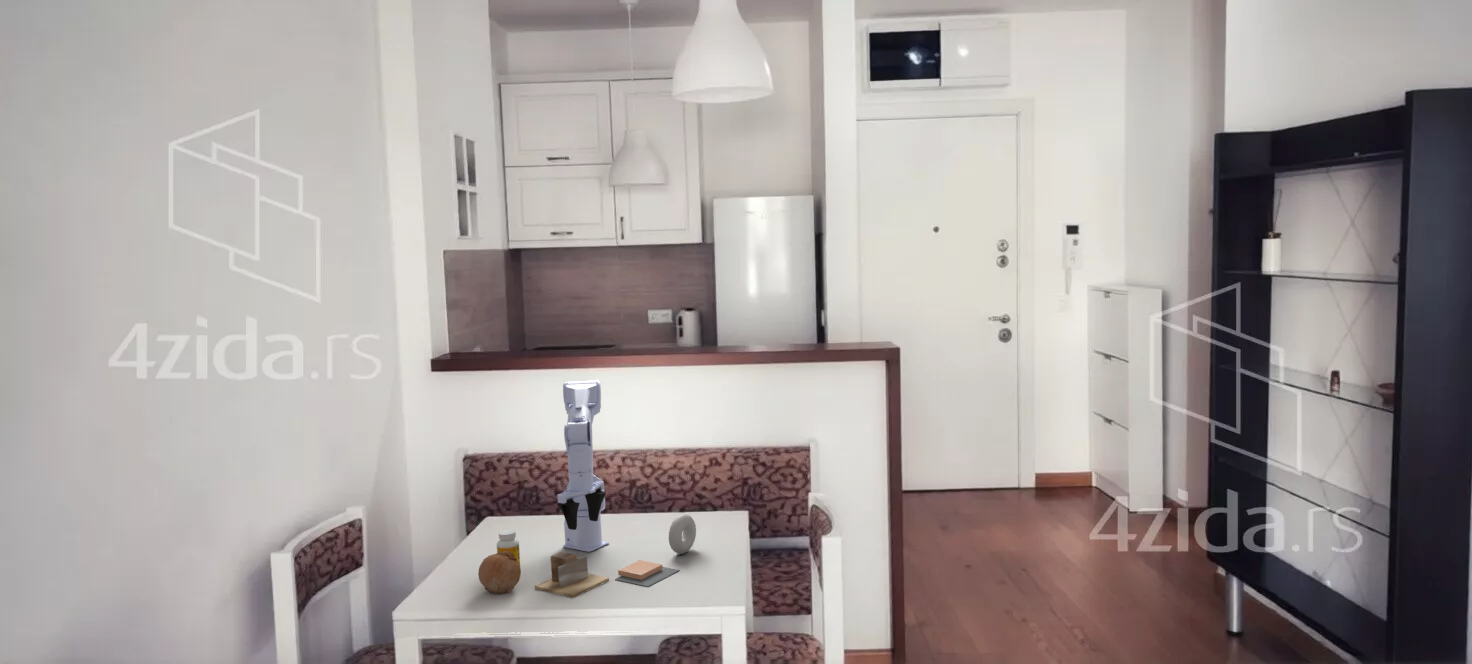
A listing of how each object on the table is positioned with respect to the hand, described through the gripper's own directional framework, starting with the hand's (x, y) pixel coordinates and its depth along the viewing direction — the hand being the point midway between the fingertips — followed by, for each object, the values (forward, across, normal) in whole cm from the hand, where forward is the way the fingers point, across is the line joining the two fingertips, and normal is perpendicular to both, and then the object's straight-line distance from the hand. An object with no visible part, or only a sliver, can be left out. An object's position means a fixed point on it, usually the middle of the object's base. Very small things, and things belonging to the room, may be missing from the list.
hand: (583, 524), depth 226 cm
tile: (+9, +2, -12) cm, 16 cm away
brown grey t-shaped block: (+10, -11, -4) cm, 15 cm away
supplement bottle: (+11, -11, +15) cm, 21 cm away
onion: (+11, -22, +6) cm, 25 cm away
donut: (+11, +19, -16) cm, 27 cm away
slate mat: (+10, +2, -18) cm, 21 cm away
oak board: (+10, -11, -6) cm, 16 cm away
